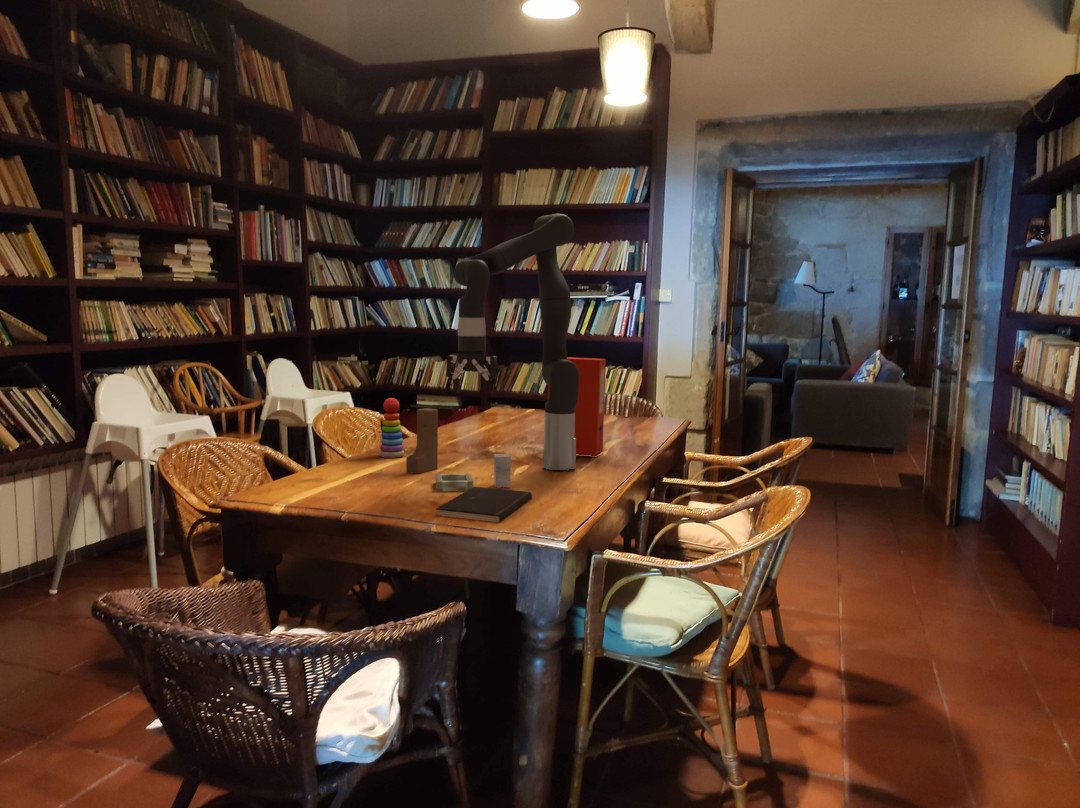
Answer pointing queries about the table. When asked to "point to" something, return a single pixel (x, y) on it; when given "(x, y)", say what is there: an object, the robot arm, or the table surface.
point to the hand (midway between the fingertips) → (472, 393)
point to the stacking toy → (391, 431)
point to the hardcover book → (485, 504)
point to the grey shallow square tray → (453, 482)
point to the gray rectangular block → (502, 470)
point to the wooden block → (425, 442)
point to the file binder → (589, 405)
